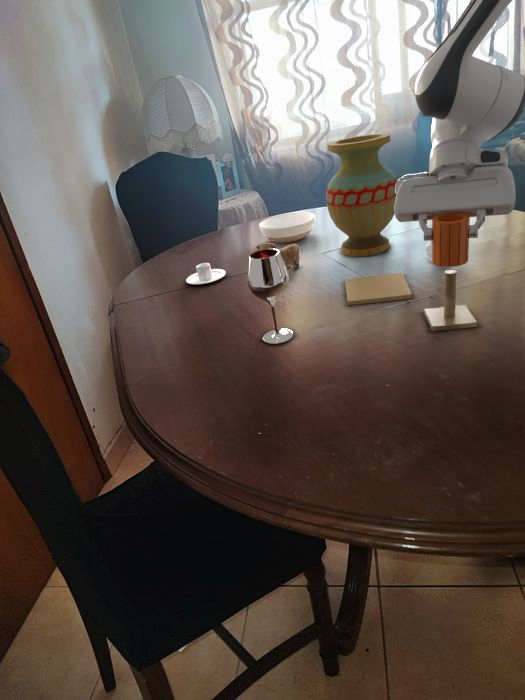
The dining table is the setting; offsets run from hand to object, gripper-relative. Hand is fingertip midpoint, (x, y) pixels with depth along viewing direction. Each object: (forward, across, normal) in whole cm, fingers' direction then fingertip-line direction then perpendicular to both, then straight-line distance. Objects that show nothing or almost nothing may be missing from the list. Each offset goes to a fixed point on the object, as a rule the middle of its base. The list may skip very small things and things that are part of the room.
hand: (450, 237), depth 82 cm
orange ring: (+3, 0, +4) cm, 5 cm away
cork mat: (+1, -17, +23) cm, 28 cm away
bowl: (-32, -54, +56) cm, 84 cm away
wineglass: (+18, -33, +6) cm, 38 cm away
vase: (-21, -25, +44) cm, 55 cm away
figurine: (-8, -45, +32) cm, 56 cm away
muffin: (-13, -4, +36) cm, 39 cm away
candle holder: (-6, -68, +29) cm, 74 cm away
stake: (+11, 0, +12) cm, 17 cm away
